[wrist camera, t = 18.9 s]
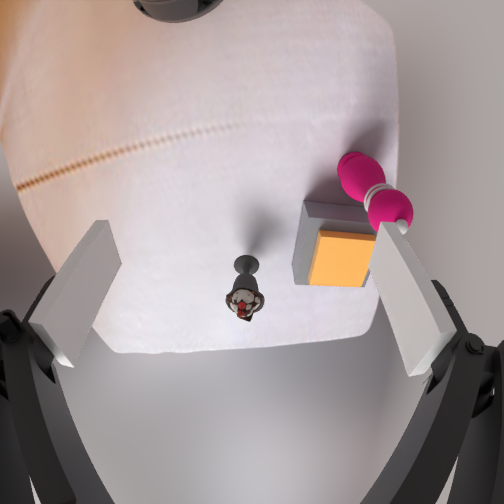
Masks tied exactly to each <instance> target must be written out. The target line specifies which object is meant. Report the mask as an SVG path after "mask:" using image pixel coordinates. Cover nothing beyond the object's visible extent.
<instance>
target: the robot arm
mask: <svg viewBox="0 0 504 504" xmlns="http://www.w3.org/2000/svg"><path fill="white" fill-rule="evenodd" d="M222 1H223V0H133V3H134V4H135V6H136V7H137V8H138V9H139V10H140V11H141V12H142V13H143V14H145V15H146V16H148V17H150V18H153V19H155V20H158V21H161V22H167V23H179V22H186V21H190V20H194V19H196V18H199V17H201V16H203V15H205V14H207V13H209V12H210V11H212V10H213V9H214V8H216V7H217V6H218V5H219V4H220V3H221V2H222ZM121 264H122V263H121V260H120V257H119V254H118V251H117V247H116V244H115V241H114V238H113V234H112V231H111V228H110V224H109V221H108V220H97V221H95V222H94V224H93V225H92V226H91V227H90V229H89V230H88V231H87V233H86V234H85V235H84V237H83V238H82V239H81V241H80V242H79V243H78V245H77V246H76V247H75V249H74V250H73V252H72V253H71V254H70V256H69V257H68V259H67V260H66V262H65V263H64V264H63V266H62V267H61V269H60V270H59V272H58V273H57V275H56V276H53V277H52V278H51V279H49V280H48V281H47V282H46V283H45V285H44V286H43V288H42V289H41V291H40V293H39V294H38V296H37V297H36V300H35V301H34V302H33V304H32V305H31V307H30V309H29V311H28V312H27V314H26V316H25V318H24V319H23V321H22V323H21V322H20V320H19V319H18V318H17V316H16V315H15V313H14V312H13V311H12V310H4V311H2V312H0V504H35V501H34V496H33V492H32V488H31V482H30V478H31V481H32V483H33V485H34V488H35V491H36V493H37V495H38V497H39V500H40V502H41V504H115V503H114V502H113V500H112V498H111V497H110V495H109V493H108V492H107V490H106V488H105V486H104V485H103V483H102V481H101V479H100V478H99V476H98V474H97V472H96V470H95V468H94V466H93V464H92V462H91V460H90V458H89V456H88V454H87V452H86V450H85V447H84V445H83V443H82V441H81V438H80V436H79V434H78V431H77V429H76V426H75V424H74V421H73V419H72V416H71V414H70V411H69V408H68V406H67V403H66V400H65V397H64V394H63V391H62V388H61V385H60V382H59V378H58V375H57V372H56V368H55V366H54V364H53V363H52V361H53V358H54V357H55V358H56V359H57V360H58V361H59V363H60V364H62V365H66V366H70V367H75V365H76V363H77V360H78V358H79V355H80V353H81V350H82V347H83V345H84V343H85V340H86V338H87V336H88V334H89V331H90V329H91V327H92V324H93V322H94V320H95V318H96V315H97V313H98V311H99V309H100V307H101V305H102V302H103V300H104V298H105V296H106V294H107V292H108V290H109V288H110V286H111V284H112V282H113V280H114V278H115V276H116V274H117V272H118V270H119V268H120V266H121ZM368 268H369V270H370V272H371V275H372V277H373V280H374V282H375V284H376V287H377V289H378V292H379V294H380V297H381V299H382V302H383V305H384V307H385V310H386V313H387V315H388V318H389V320H390V323H391V326H392V329H393V332H394V335H395V337H396V340H397V343H398V346H399V349H400V352H401V355H402V358H403V361H404V364H405V368H406V371H407V374H408V377H409V376H413V375H419V374H424V373H425V371H426V370H427V369H428V368H429V367H430V365H431V368H432V371H433V373H432V374H431V375H430V376H429V377H428V378H427V380H426V381H425V382H424V383H423V384H422V386H421V387H424V386H425V385H426V387H425V389H424V392H423V394H422V396H421V399H420V401H419V403H418V405H417V408H416V410H415V412H414V414H413V416H412V418H411V420H410V422H409V424H408V426H407V428H406V430H405V432H404V434H403V436H402V438H401V440H400V442H399V443H398V445H397V447H396V449H395V451H394V452H393V454H392V456H391V458H390V459H389V461H388V463H387V464H386V466H385V468H384V469H383V471H382V472H381V474H380V476H379V477H378V479H377V480H376V482H375V483H374V485H373V486H372V488H371V489H370V490H369V492H368V493H367V495H366V496H365V498H364V499H363V500H362V502H361V503H360V504H435V503H436V502H437V500H438V498H439V496H440V494H441V492H442V490H443V488H444V486H445V484H446V482H447V480H448V477H449V475H450V473H451V471H452V468H453V466H454V464H455V461H456V459H457V456H458V461H457V465H456V470H455V474H454V479H453V483H452V487H451V491H450V494H449V498H448V501H447V504H504V340H503V341H502V342H501V343H500V344H499V345H498V346H497V347H492V346H486V345H484V343H483V341H482V340H481V338H479V337H478V336H477V335H475V334H472V333H468V331H467V329H466V327H465V325H464V323H463V321H462V319H461V317H460V316H459V313H458V311H457V310H456V308H455V306H454V304H453V302H452V300H451V299H450V297H449V295H448V293H447V292H446V290H445V288H444V287H443V286H442V285H441V284H440V283H439V282H438V281H437V280H430V278H429V277H428V275H427V273H426V271H425V270H424V268H423V266H422V265H421V263H420V261H419V260H418V258H417V257H416V255H415V253H414V252H413V250H412V249H411V247H410V245H409V244H408V242H407V241H406V239H405V238H404V236H403V234H402V233H401V231H400V230H399V228H398V227H397V225H396V224H395V223H394V222H380V226H379V230H378V234H377V237H376V241H375V244H374V248H373V251H372V255H371V258H370V261H369V264H368ZM493 389H494V395H493ZM458 454H459V455H458ZM29 475H30V478H29Z"/></svg>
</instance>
